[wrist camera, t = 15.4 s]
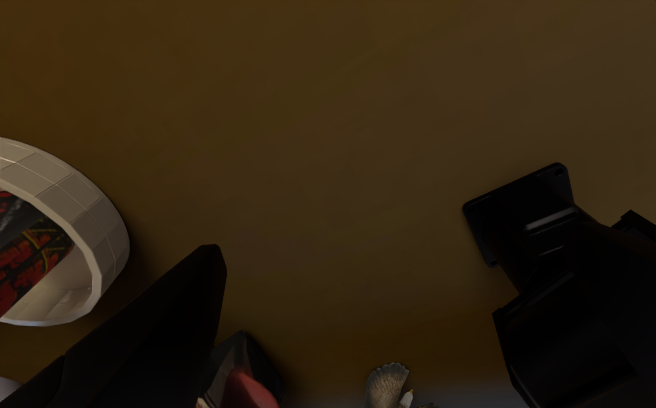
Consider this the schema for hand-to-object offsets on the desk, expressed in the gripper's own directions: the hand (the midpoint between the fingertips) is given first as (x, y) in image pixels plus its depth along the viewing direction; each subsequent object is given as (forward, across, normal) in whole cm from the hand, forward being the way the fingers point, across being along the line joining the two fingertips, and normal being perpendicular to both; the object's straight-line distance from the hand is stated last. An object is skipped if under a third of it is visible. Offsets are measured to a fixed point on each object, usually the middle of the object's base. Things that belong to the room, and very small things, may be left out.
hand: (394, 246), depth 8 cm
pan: (+12, +23, +7) cm, 27 cm away
